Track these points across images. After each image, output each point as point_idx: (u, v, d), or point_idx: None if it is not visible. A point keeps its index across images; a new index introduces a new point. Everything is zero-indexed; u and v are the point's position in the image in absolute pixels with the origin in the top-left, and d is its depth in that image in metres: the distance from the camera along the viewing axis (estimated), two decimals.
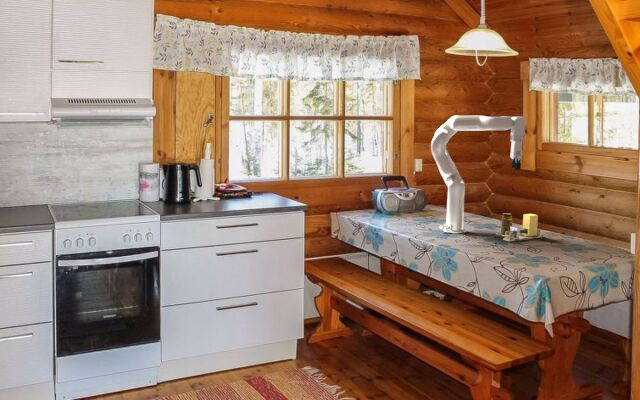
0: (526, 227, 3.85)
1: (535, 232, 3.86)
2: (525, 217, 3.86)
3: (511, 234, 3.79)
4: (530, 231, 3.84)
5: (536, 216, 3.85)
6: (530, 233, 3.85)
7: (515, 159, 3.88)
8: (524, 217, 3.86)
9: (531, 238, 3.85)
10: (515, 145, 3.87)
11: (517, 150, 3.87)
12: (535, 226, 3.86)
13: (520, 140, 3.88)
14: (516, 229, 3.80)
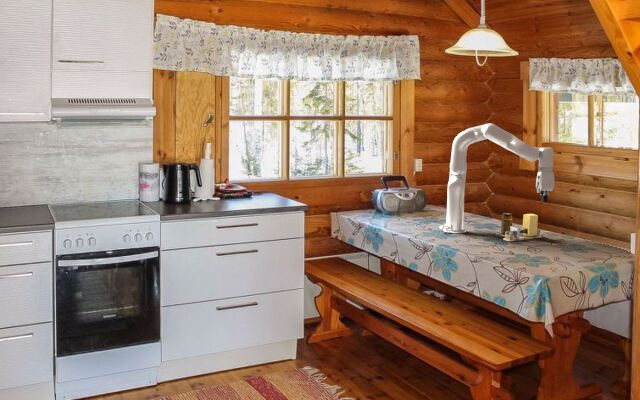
0: (526, 227, 3.85)
1: (535, 232, 3.86)
2: (525, 217, 3.86)
3: (511, 234, 3.79)
4: (530, 231, 3.84)
5: (536, 216, 3.85)
6: (530, 233, 3.85)
7: (548, 191, 3.88)
8: (524, 217, 3.86)
9: (531, 238, 3.85)
10: None
11: None
12: (535, 226, 3.86)
13: None
14: (516, 229, 3.80)
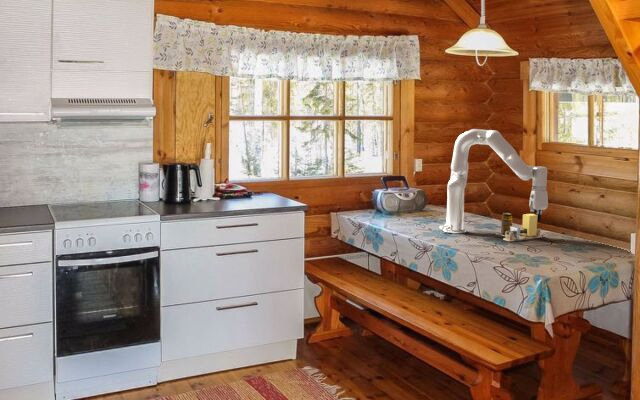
0: (526, 227, 3.85)
1: (535, 232, 3.86)
2: (525, 217, 3.85)
3: (511, 234, 3.79)
4: (530, 231, 3.84)
5: (536, 216, 3.85)
6: (530, 233, 3.84)
7: (541, 210, 3.88)
8: (524, 217, 3.86)
9: (531, 238, 3.85)
10: None
11: None
12: (534, 226, 3.85)
13: None
14: (516, 229, 3.80)
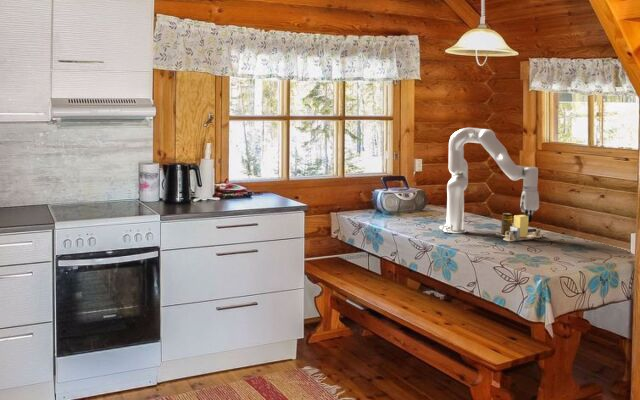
0: None
1: (526, 233, 3.83)
2: (516, 218, 3.82)
3: (511, 234, 3.79)
4: (521, 232, 3.81)
5: (527, 217, 3.82)
6: (521, 234, 3.81)
7: (532, 211, 3.85)
8: (515, 218, 3.83)
9: (531, 238, 3.85)
10: None
11: None
12: (525, 227, 3.82)
13: None
14: (516, 229, 3.80)
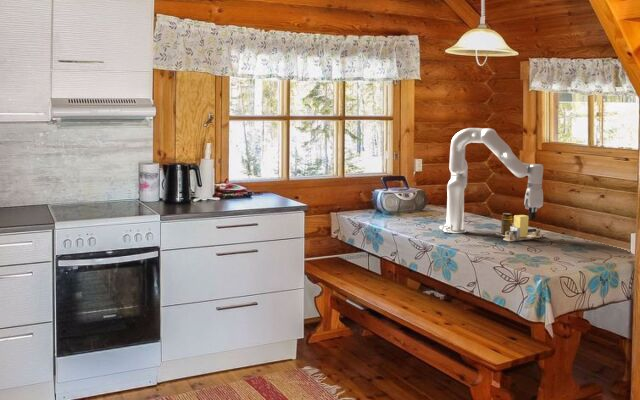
0: None
1: (526, 233, 3.83)
2: (516, 218, 3.82)
3: (511, 234, 3.79)
4: (521, 232, 3.81)
5: (527, 217, 3.82)
6: (521, 234, 3.81)
7: (536, 208, 3.86)
8: (515, 218, 3.83)
9: (531, 238, 3.85)
10: None
11: None
12: (525, 227, 3.82)
13: None
14: (516, 229, 3.80)
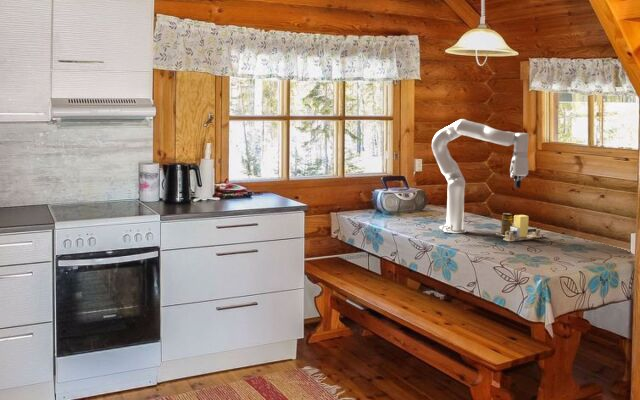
0: None
1: (526, 233, 3.83)
2: (516, 218, 3.82)
3: (511, 234, 3.79)
4: (521, 232, 3.81)
5: (527, 217, 3.82)
6: (521, 234, 3.81)
7: (522, 177, 3.90)
8: (515, 218, 3.83)
9: (531, 238, 3.85)
10: None
11: None
12: (525, 227, 3.82)
13: None
14: (516, 229, 3.80)
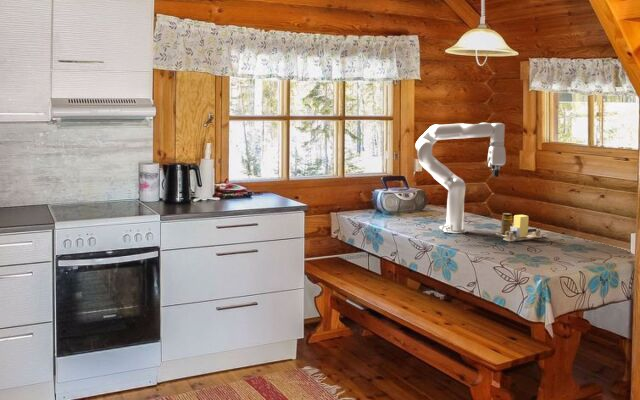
0: None
1: (526, 233, 3.83)
2: (516, 218, 3.82)
3: (511, 234, 3.79)
4: (521, 232, 3.81)
5: (527, 217, 3.82)
6: (521, 234, 3.81)
7: (499, 166, 3.98)
8: (515, 218, 3.83)
9: (531, 238, 3.85)
10: None
11: None
12: (525, 227, 3.82)
13: None
14: (516, 229, 3.80)
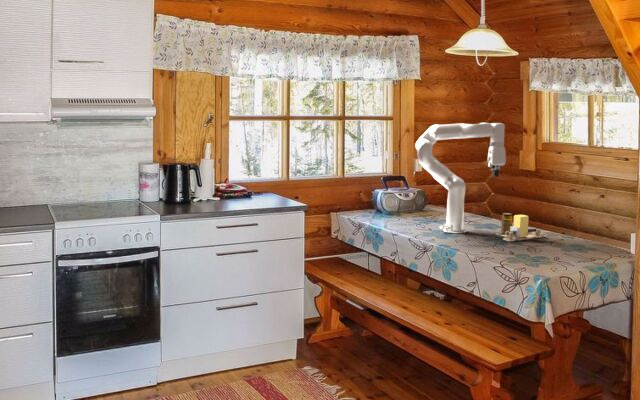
0: None
1: (526, 233, 3.83)
2: (516, 218, 3.82)
3: (511, 234, 3.79)
4: (521, 232, 3.81)
5: (527, 217, 3.82)
6: (521, 234, 3.81)
7: (499, 166, 3.98)
8: (515, 218, 3.83)
9: (531, 238, 3.85)
10: None
11: None
12: (525, 227, 3.82)
13: None
14: (516, 229, 3.80)
